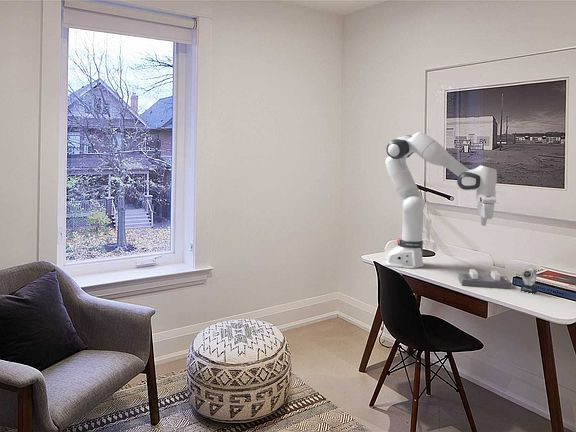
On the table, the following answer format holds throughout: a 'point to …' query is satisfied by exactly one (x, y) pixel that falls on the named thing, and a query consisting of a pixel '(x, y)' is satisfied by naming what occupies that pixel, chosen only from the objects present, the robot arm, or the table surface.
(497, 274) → the right switch
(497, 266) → the table surface
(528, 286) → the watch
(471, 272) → the left switch
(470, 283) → the power strip
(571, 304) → the table surface
